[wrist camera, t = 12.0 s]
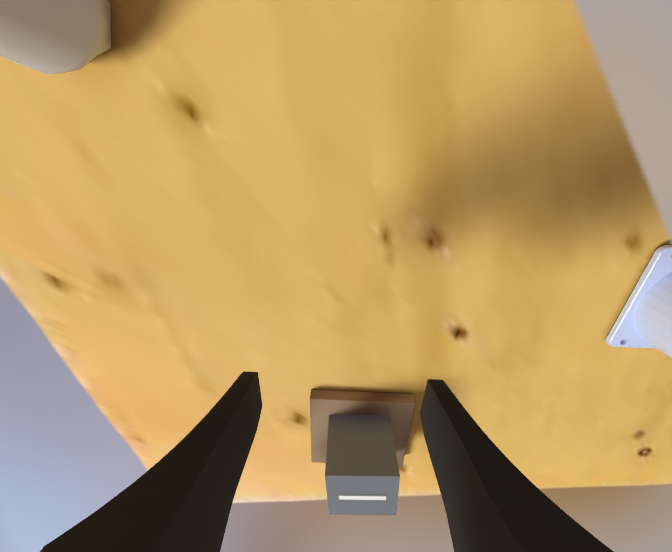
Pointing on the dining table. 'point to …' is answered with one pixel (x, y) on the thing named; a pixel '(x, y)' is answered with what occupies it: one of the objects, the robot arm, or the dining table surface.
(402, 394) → the base
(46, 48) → the salt shaker
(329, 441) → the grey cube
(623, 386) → the dining table surface
